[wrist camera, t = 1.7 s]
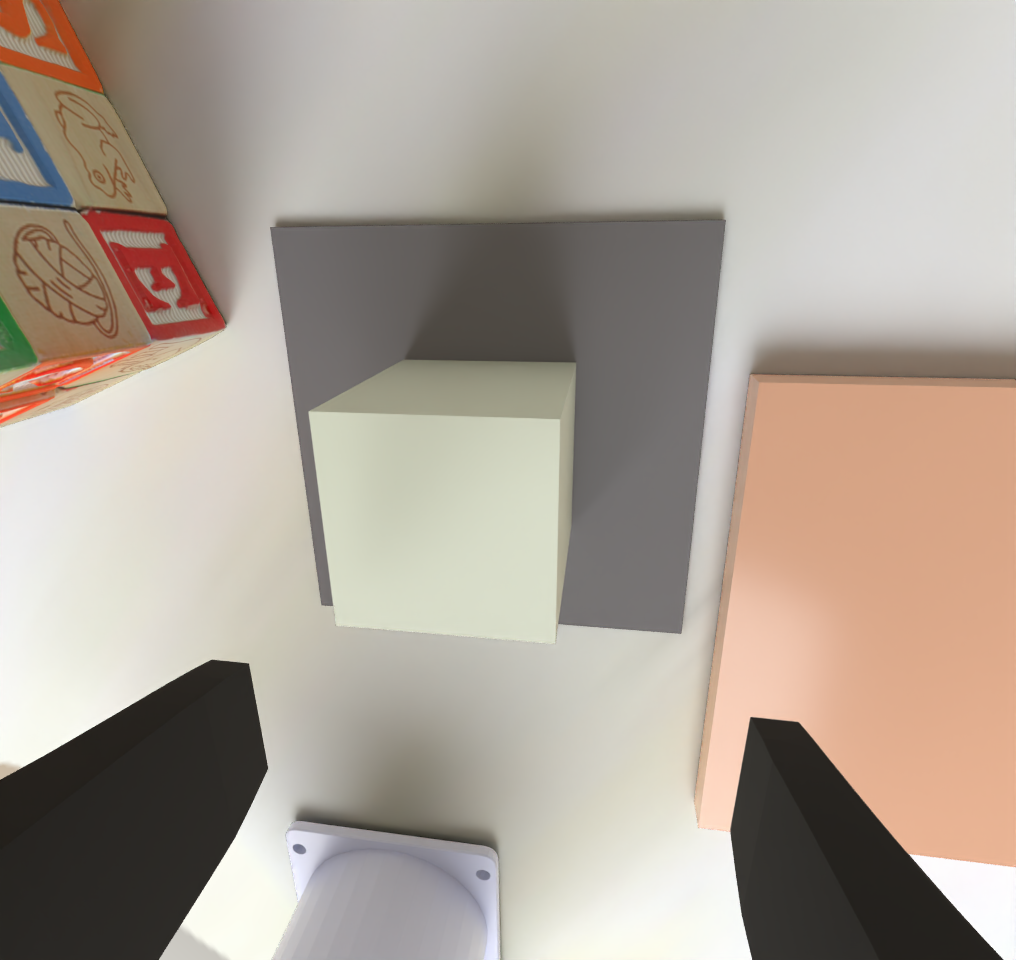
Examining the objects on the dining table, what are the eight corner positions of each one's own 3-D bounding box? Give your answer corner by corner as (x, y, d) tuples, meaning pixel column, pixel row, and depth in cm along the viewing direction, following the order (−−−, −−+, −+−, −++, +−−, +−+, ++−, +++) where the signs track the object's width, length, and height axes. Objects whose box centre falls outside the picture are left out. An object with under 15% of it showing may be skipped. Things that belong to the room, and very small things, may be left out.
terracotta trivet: (1071, 845, 18) (1096, 877, 17) (694, 800, 20) (698, 828, 19) (1274, 383, 13) (1322, 394, 13) (749, 374, 15) (759, 382, 14)
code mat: (680, 629, 18) (681, 634, 18) (324, 601, 19) (321, 605, 19) (724, 220, 14) (726, 219, 14) (274, 227, 16) (270, 227, 15)
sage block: (571, 525, 17) (555, 643, 12) (414, 516, 18) (335, 625, 13) (576, 362, 15) (559, 419, 10) (403, 359, 16) (307, 411, 11)
